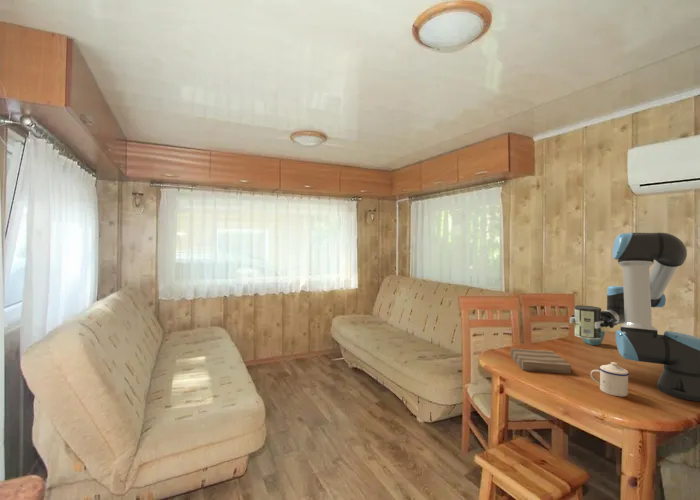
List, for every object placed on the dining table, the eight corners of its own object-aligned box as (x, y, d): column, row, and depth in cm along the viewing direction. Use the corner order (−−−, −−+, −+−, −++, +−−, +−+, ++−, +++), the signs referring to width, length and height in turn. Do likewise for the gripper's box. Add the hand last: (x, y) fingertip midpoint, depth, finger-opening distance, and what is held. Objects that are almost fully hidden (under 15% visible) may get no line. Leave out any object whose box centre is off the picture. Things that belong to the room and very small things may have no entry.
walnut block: (570, 373, 147) (570, 365, 147) (522, 370, 151) (522, 361, 151) (552, 358, 167) (552, 351, 167) (510, 355, 171) (510, 348, 171)
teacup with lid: (629, 392, 129) (630, 362, 129) (627, 399, 123) (628, 368, 123) (592, 383, 138) (592, 355, 138) (588, 389, 131) (589, 360, 131)
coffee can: (593, 334, 159) (593, 305, 159) (605, 340, 149) (606, 309, 149) (570, 333, 161) (570, 304, 161) (580, 339, 151) (580, 308, 151)
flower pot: (605, 346, 189) (605, 331, 189) (589, 346, 189) (590, 330, 189) (594, 342, 198) (594, 327, 198) (579, 341, 198) (579, 327, 198)
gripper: (634, 331, 153) (610, 336, 143) (581, 321, 173) (557, 325, 163) (634, 315, 153) (611, 319, 143) (581, 307, 173) (557, 310, 162)
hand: (582, 322), depth 153 cm, fingers closed on coffee can, 10 cm apart
